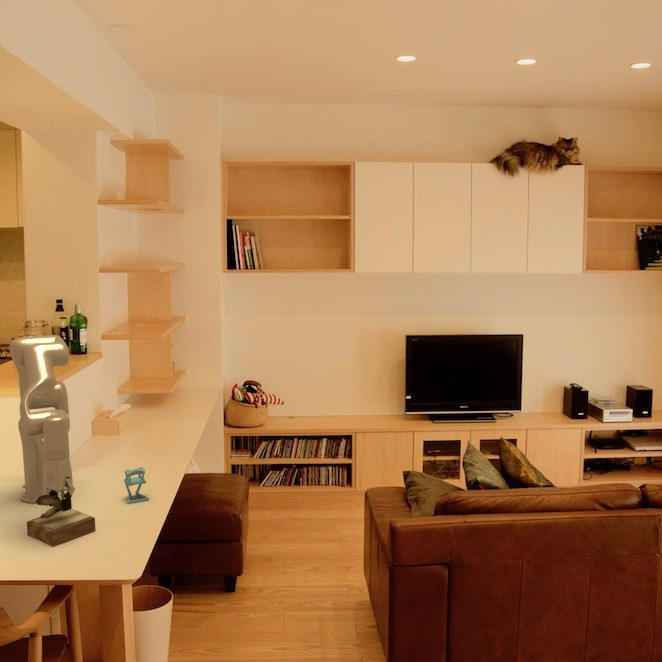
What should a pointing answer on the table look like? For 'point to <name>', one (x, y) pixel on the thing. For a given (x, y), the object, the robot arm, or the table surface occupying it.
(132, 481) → the chair
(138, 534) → the table surface
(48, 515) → the eagle figurine
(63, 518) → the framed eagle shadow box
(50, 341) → the robot arm
